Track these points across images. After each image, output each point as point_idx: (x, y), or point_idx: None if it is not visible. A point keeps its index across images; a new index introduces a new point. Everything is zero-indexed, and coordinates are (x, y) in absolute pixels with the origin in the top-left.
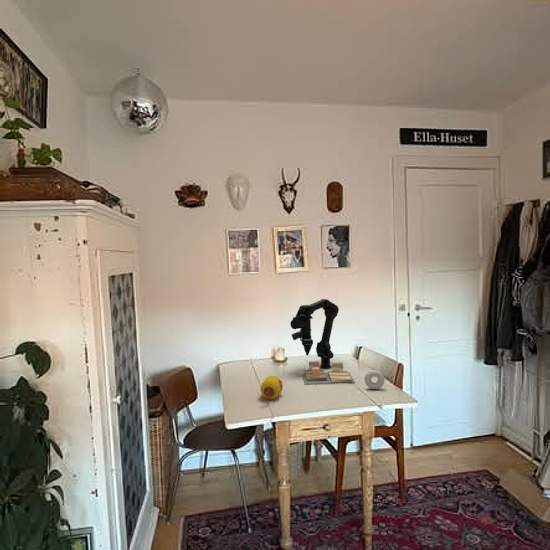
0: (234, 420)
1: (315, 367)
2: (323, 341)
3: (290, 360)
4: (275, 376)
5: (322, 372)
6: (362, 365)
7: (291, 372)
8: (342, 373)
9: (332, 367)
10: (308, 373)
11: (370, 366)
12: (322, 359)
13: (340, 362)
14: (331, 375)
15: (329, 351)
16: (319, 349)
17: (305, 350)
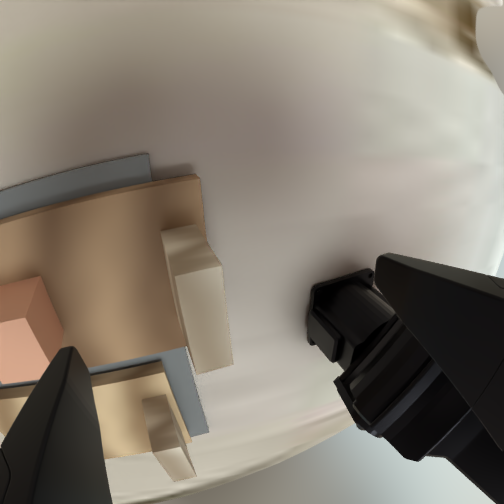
0: None
1: (32, 351)
2: (460, 435)
3: (479, 87)
4: None
5: (116, 347)
6: (325, 426)
7: (222, 39)
8: (124, 438)
9: (147, 426)
10: (58, 238)
11: (305, 447)
12: (360, 330)
13: (190, 472)
14: None
15: (361, 429)
16: (417, 374)
17: (4, 441)
